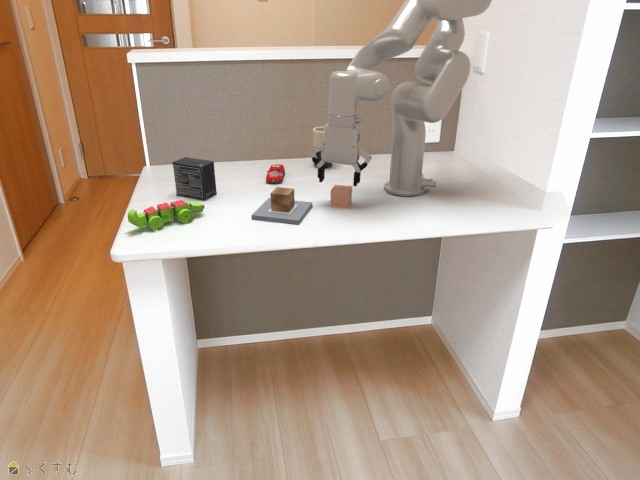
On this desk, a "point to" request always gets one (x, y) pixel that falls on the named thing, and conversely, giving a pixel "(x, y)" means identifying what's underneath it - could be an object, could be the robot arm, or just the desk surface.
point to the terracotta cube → (341, 196)
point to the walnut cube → (282, 199)
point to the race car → (275, 174)
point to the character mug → (319, 142)
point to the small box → (195, 178)
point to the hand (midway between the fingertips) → (338, 182)
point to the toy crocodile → (165, 214)
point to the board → (282, 213)
